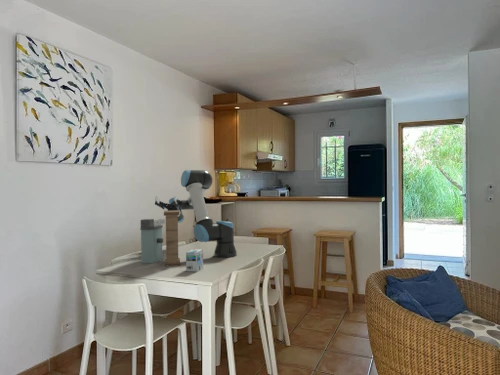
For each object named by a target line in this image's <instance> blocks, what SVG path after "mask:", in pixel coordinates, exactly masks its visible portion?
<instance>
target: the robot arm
mask: <svg viewBox="0 0 500 375" xmlns="http://www.w3.org/2000/svg"><path fill="white" fill-rule="evenodd" d="M213 180H214V179H213V176H212V175H211V173H210V172H209V171H207V170H204V169H201V170H199V169H198V170H197V169H195V170H194V169H186V170H183V172H182V173H181V178H180V184H181V187H183V188H185V190H186V192H189V193H188V194H189V197H188V198H187V199H183V200H181V199H179V198H178V197H177V196H174V197H171V198H169V200H168V202H167V203H166V202H163V201H161V200H160V199H159V197H158V196H157V195H156V196H155V198H154V205H155V206H157V207H159V208H161V209H162V210H165V209H166V210H167V211H170V210H179V215H178V224H179V223H182V222H183V221H184V220H185V216H184V214H183V212H182V211H185V210H186V211H187V210H193V212H194V215H195V219H196V222H195V225H194V226H193V227H194V228H193V234H194V238H195V239H196V240H197V241H198V242H200V243H207V242H216V245H215V248H214V252H213V253H214V254H213V255H214V257H216V258H217V257H218V258H231V257H236V256H237V252H238V251H237V249H236V246H235V239H234V238H235V236H234V235H235V234H234V231H235V230H234V229H235V227H234V223H233V222H232V221H225V220H216V222H215V223H214V221H213V219H212V218H210V216H209V212H208V208H207V205H206V202H205V201H206V200H205V198H204V194H205V192H206V191H207V190H209V189H210V188H211V186H212V185H213Z"/></svg>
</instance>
